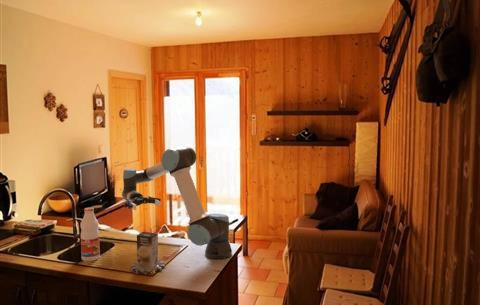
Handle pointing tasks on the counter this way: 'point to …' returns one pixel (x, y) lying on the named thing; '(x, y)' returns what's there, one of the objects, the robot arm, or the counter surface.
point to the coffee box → (147, 249)
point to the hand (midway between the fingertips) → (147, 205)
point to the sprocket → (147, 268)
